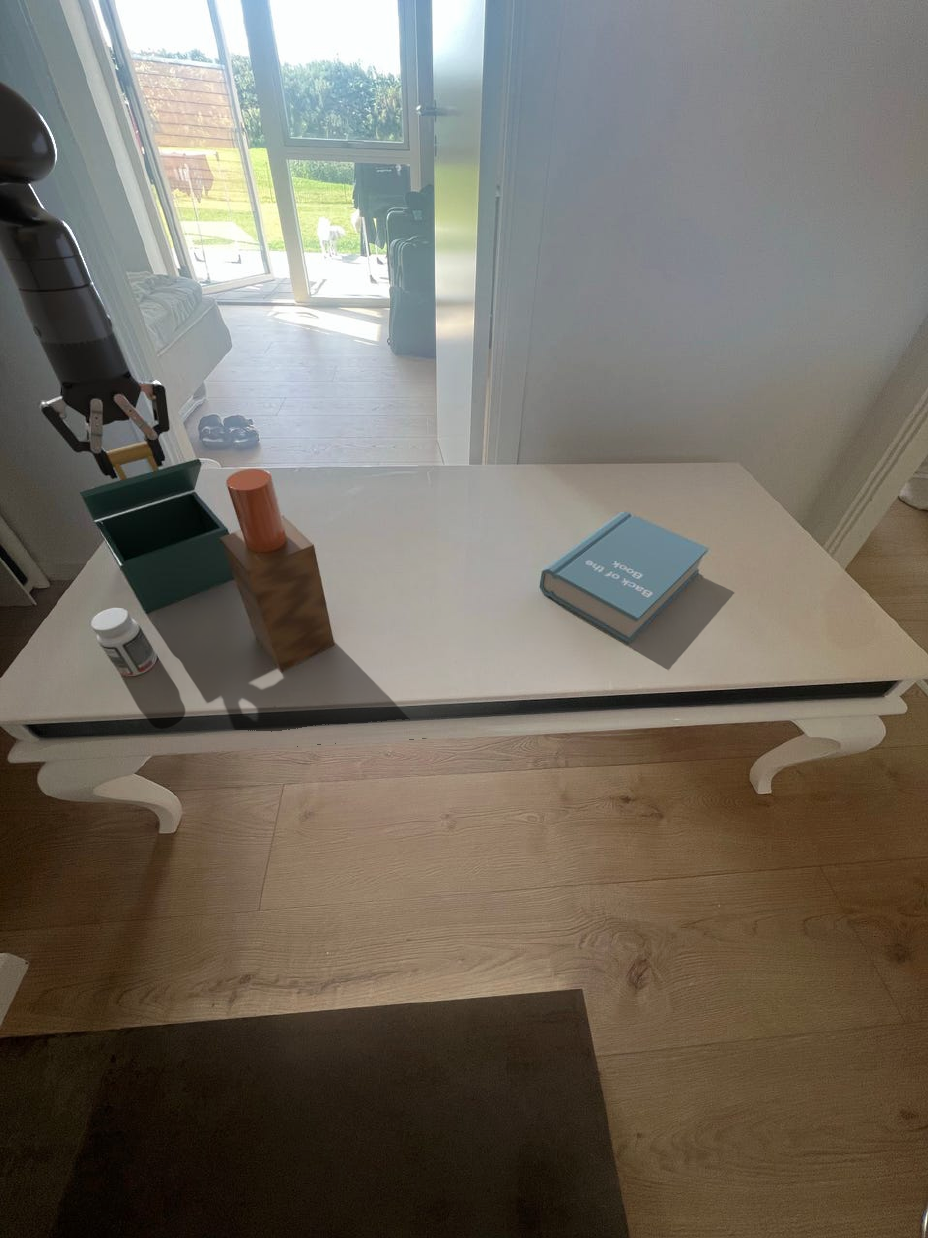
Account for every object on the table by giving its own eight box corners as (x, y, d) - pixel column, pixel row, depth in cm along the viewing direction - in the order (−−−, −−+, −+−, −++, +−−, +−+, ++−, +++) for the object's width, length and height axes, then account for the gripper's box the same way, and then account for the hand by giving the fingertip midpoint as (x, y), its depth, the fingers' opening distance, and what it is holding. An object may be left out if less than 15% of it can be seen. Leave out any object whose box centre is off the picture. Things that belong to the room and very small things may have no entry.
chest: (243, 575, 83) (227, 528, 76) (145, 614, 76) (120, 566, 70) (211, 535, 90) (194, 490, 84) (119, 567, 83) (93, 520, 77)
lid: (201, 463, 71) (183, 426, 70) (82, 497, 64) (60, 457, 63) (194, 489, 84) (178, 458, 83) (93, 520, 77) (75, 487, 76)
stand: (280, 672, 69) (247, 571, 57) (255, 637, 73) (219, 537, 61) (334, 644, 72) (314, 544, 61) (307, 613, 77) (283, 514, 65)
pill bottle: (156, 646, 71) (130, 600, 65) (158, 670, 68) (132, 624, 62) (117, 656, 70) (87, 611, 64) (118, 682, 67) (87, 636, 61)
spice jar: (255, 557, 59) (236, 494, 53) (239, 538, 61) (219, 476, 55) (293, 543, 61) (279, 481, 55) (276, 525, 63) (260, 464, 58)
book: (628, 643, 74) (638, 618, 71) (538, 591, 82) (542, 566, 78) (698, 572, 87) (708, 548, 83) (614, 532, 94) (620, 508, 91)
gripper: (134, 315, 65) (181, 447, 76) (-5, 333, 58) (70, 475, 69) (152, 328, 60) (199, 465, 72) (5, 349, 54) (83, 497, 65)
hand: (135, 469), depth 71 cm, fingers closed on lid, 5 cm apart
